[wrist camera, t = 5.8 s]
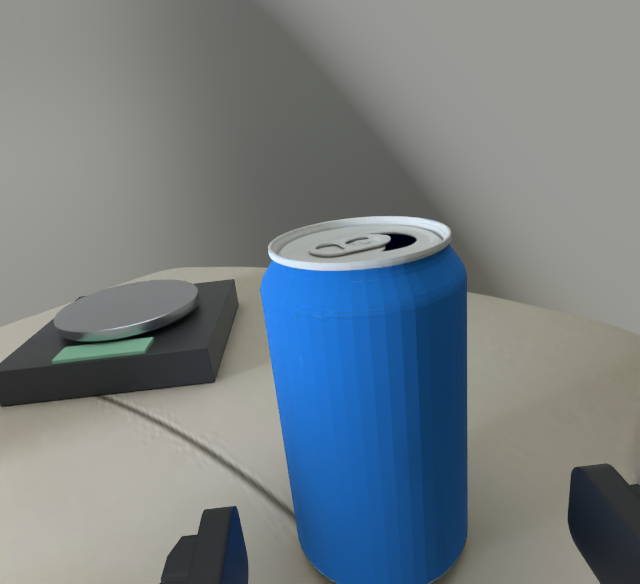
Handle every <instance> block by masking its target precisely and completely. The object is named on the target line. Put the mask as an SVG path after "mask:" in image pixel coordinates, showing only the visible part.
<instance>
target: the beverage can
mask: <svg viewBox="0 0 640 584" xmlns="http://www.w3.org/2000/svg"><path fill="white" fill-rule="evenodd" d="M450 241H451V230H450V228H449V227H447V226H446V225H445V224H442V223H440V222H437V221H434V220H429V219H423V218H415V217H404V216H376V217H360V218H350V219H342V220H334V221H329V222H323V223H318V224H313V225H309V226H306V227H302V228H298V229H295V230H292V231H290V232H287V233H285V234H282V235H280V236H278V237H277V238H275V239H274V240H273V241H272V242H271V243H270V244H269V246H268V250H269V256H270V258H271V259H272V262H271V263H270V265H269V267H268V269H267V271H266V272H265V274H264V276H263V279H262V283H261V289H260V291H261V297H262V304H263V310H264V317H265V323H266V330H267V336H268V343H269V349H270V356H271V362H272V369H273V375H274V382H275V388H276V395H277V401H278V408H279V414H280V421H281V427H282V434H283V440H284V447H285V453H286V460H287V466H288V473H289V479H290V486H291V492H292V499H293V505H294V511H295V518H296V524H297V531H298V537H299V541H300V544H301V547H302V549H303V551H304V553H305V555H306V557H307V558H308V560H309V561H310V562H311V563H312V565H313V566H314V567H315V568H316V569H317V570H318V571H319V572H320V573H321V574H323V575H324V576H326V577H327V578H328V579H330V580H331V581H333V582H335V583H337V584H430V583H432V582H434V581H435V580H437V579H438V578H440V577H441V576H442V575H444V574H445V573H446V572H447V571H448V570H449V569H450V568H451V567H452V566H453V565H454V564H455V562H456V561H457V559H458V558H459V557H460V555H461V552H462V550H463V548H464V545H465V542H466V538H467V275H466V270H465V267H464V265H463V263H462V261H461V260H460V258H459V257H458V255H457V254H456V253H455V252H454V251H453V249H452V248H451V247H450V245H449V243H450Z"/></svg>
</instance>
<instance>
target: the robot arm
mask: <svg viewBox="0 0 640 584" xmlns="http://www.w3.org/2000/svg"><path fill="white" fill-rule="evenodd" d="M568 525H569V529H570V533H571V536H572V538H573V541H574V543H575V545H576V546H577V548H578V550H579V551H580V553H581V554H582V556H583V557H584V559H585V560H586V562H587V563H588V565H589V567H590V568H591V570H592V571H593V573H594V574H595V576H596V577H597V579H598V581H599V582H600V584H640V485H639V484H634V485H629V484H628V483H627V482H626V481H625V480H624V479H623V477H622V476H621V475H620V474H619V473H618V472H617V471H616V470H615V469H614V468H613V467H612V466H611V465H609V464H599V465H590V466H582V467H575V468H574V469H573V470H572V473H571V483H570V495H569V507H568ZM160 584H248V558H247V552H246V547H245V542H244V537H243V532H242V528H241V523H240V518H239V513H238V509H237V507H236V506H232V507H223V508H215V509H206V510H204V511H203V514H202V518H201V522H200V526H199V530H198V534H197V535H191V536H182V537H181V539H180V540H179V541H178V543H177V544H176V545H175V547H174V548H173V550H172V551H171V552H170V554H169V555H168V556H167V560H166V563H165V567H164V570H163V573H162V577H161V583H160Z"/></svg>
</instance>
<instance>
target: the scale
mask: <svg viewBox="0 0 640 584" xmlns="http://www.w3.org/2000/svg"><path fill="white" fill-rule="evenodd" d="M194 285H195V286H196V287H197V289H198V292H199V299H200V300H199V303H198V305H197V306H196V308H195V309H194V310H193V311H191V312H190V313H189V314H187V315H186V316H184V317H182V318H181V319H179V320H177V321H175V322H173V323H170V324H168V325H166V326H163V327H161V328H158V329H155V330H152V331H149V332H146V333H142V334H138V335H134V336H130V337H125V338H120V339H113V340H106V341H92V342H84V341H73V340H68V339H65V338H63V337H61V336H60V335H59V334H58V333H57V331H56V328H55V325H54V319H53V320H51V321H50V322H49V323H48V324H47V325H45V326H44V327H43V328H42V329H41V330H39V331H38V332H37V333H36V334H35V335H33V336H32V337H31V338H30V339H29V340H27V341H26V342H25V343H24V344H23V345H21V346H20V347H19V348H18V349H17V350H15V351H14V352H13V353H12V354H11V355H9V356H8V357H7V358H6V359H5V360H3V361H2V362H1V363H0V405H1V406H7V405H16V404H25V403H33V402H42V401H51V400H60V399H68V398H77V397H86V396H95V395H103V394H112V393H121V392H130V391H138V390H147V389H156V388H165V387H173V386H182V385H191V384H200V383H208V382H214V381H215V378H216V375H217V371H218V368H219V365H220V362H221V359H222V356H223V352H224V349H225V346H226V343H227V340H228V336H229V333H230V330H231V327H232V324H233V320H234V317H235V314H236V311H237V308H238V299H237V293H236V287H235V281H234V279H232V280H223V281H214V282H206V283H197V284H194ZM83 297H86V296H82V297H79V298H78V299H77V300H79V299H81V298H83ZM77 300H75V301H77ZM75 301H74V302H75Z"/></svg>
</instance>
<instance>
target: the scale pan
mask: <svg viewBox="0 0 640 584" xmlns="http://www.w3.org/2000/svg"><path fill="white" fill-rule="evenodd" d="M199 300H200V299H199V292H198V289H197V287H196V286H195V285H194V284H192V283H189V282H186V281H180V280H151V281H143V282H136V283H130V284H126V285H121V286H117V287H113V288H109V289H106V290H102V291H99V292H96V293H94V294H91V295H88V296H86V297H83V298H81V299H79V300H77V301H75V302H73V303H71V304H69V305H67V306H66V307H64V308H63V309H62V310H60V311H59V312H58V313H57V315H56V316H55V318H54V325H55V328H56V331H57V333H58V334H59V335H60V336H61V337H63V338H65V339H68V340H73V341H84V342H92V341H106V340H113V339H120V338H125V337H130V336H134V335H138V334H142V333H146V332H149V331H152V330H155V329H158V328H161V327H163V326H166V325H168V324H170V323H173V322H175V321H177V320H179V319H181V318H182V317H184V316H186V315H187V314H189V313H190V312H191V311H193V310H194V309H195V308H196V306H197V305H198V303H199Z"/></svg>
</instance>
